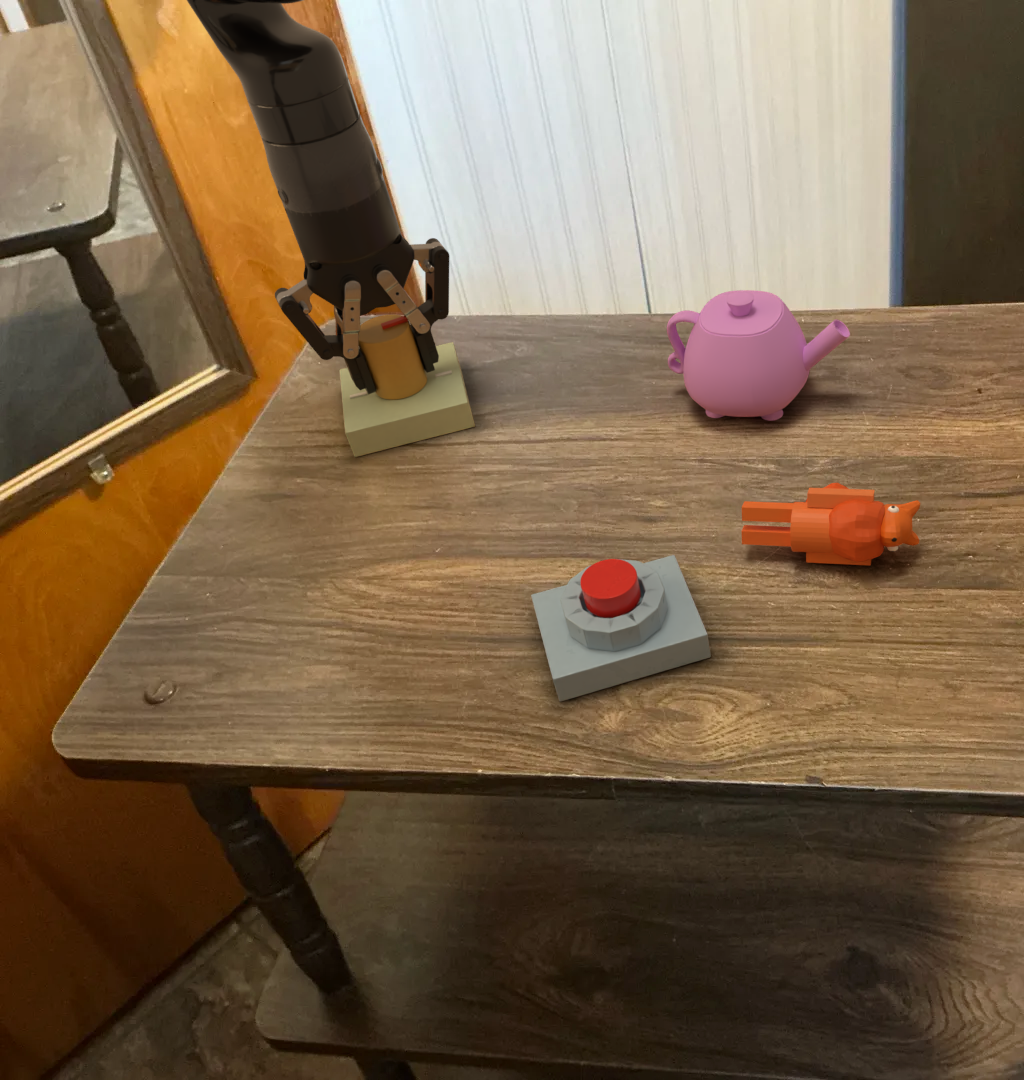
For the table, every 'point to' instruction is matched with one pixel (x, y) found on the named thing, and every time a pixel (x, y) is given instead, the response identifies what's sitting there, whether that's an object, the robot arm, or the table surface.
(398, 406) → the plate
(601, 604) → the bell button
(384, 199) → the robot arm
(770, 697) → the table surface
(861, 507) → the orange fox minifigure
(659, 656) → the grey button base
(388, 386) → the lock knob
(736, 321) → the teapot
